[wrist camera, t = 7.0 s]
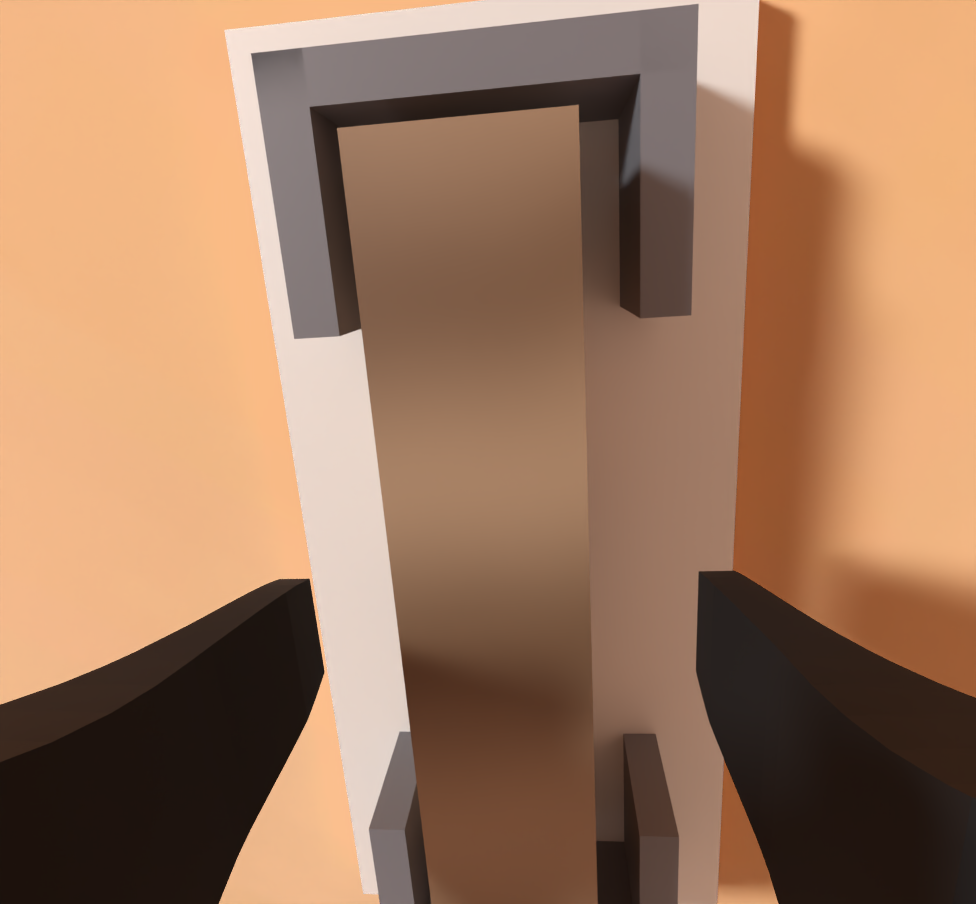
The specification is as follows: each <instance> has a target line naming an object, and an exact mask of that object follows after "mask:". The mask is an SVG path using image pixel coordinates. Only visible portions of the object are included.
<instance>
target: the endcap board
mask: <svg viewBox="0 0 976 904" xmlns="http://www.w3.org/2000/svg"><path fill="white" fill-rule="evenodd" d="M758 18H759V0H481V1H473V2H464V3H455V4H447V5H438V6H429V7H421V8H412V9H403V10H395V11H386V12H377V13H369V14H360V15H351V16H343V17H334V18H325V19H317V20H308V21H299V22H291V23H282V24H273V25H265V26H256V27H247V28H239V29H230V30H225V36H226V42H227V48H228V55H229V61H230V67H231V73H232V79H233V86H234V92H235V98H236V104H237V111H238V117H239V123H240V129H241V135H242V142H243V148H244V154H245V160H246V167H247V173H248V179H249V185H250V192H251V198H252V204H253V210H254V216H255V223H256V229H257V235H258V241H259V248H260V254H261V260H262V266H263V272H264V279H265V285H266V291H267V297H268V304H269V310H270V316H271V322H272V328H273V335H274V341H275V347H276V353H277V360H278V366H279V372H280V378H281V384H282V391H283V397H284V403H285V409H286V416H287V422H288V428H289V434H290V440H291V447H292V453H293V459H294V465H295V472H296V478H297V484H298V490H299V496H300V503H301V509H302V515H303V521H304V528H305V534H306V540H307V546H308V552H309V559H310V565H311V571H312V577H313V584H314V590H315V596H316V602H317V608H318V615H319V621H320V627H321V633H322V640H323V646H324V652H325V658H326V665H327V671H328V677H329V683H330V689H331V696H332V702H333V708H334V714H335V721H336V727H337V733H338V739H339V745H340V752H341V758H342V764H343V770H344V777H345V783H346V789H347V795H348V801H349V808H350V814H351V820H352V826H353V833H354V839H355V845H356V851H357V857H358V864H359V870H360V876H361V882H362V889H363V894H379V900H380V904H431V897H430V889H429V880H428V872H427V864H426V856H425V847H424V839H423V831H422V823H421V815H420V806H419V798H418V790H417V782H416V774H415V765H414V757H413V749H412V741H411V732H410V724H409V716H408V708H407V700H406V691H405V683H404V675H403V667H402V658H401V650H400V642H399V634H398V626H397V617H396V609H395V601H394V593H393V584H392V576H391V568H390V560H389V552H388V543H387V535H386V527H385V519H384V511H383V502H382V494H381V486H380V478H379V469H378V461H377V453H376V445H375V437H374V428H373V420H372V412H371V404H370V395H369V387H368V379H367V371H366V363H365V354H364V346H363V338H362V330H361V322H360V313H359V305H358V297H357V289H356V280H355V272H354V264H353V256H352V248H351V239H350V231H349V223H348V215H347V206H346V198H345V190H344V182H343V174H342V165H341V157H340V149H339V141H338V133H337V128H343V127H353V126H364V125H374V124H384V123H395V122H405V121H416V120H426V119H436V118H447V117H457V116H468V115H478V114H489V113H499V112H509V111H520V110H530V109H541V108H551V107H561V106H572V105H579V142H580V184H581V226H582V268H583V309H584V351H585V393H586V435H587V477H588V519H589V561H590V603H591V645H592V687H593V729H594V771H595V813H596V855H597V897H598V904H717V898H718V877H719V855H720V834H721V812H722V791H723V769H724V758H723V755H722V753H721V750H720V748H719V745H718V743H717V740H716V738H715V735H714V733H713V730H712V728H711V725H710V723H709V720H708V716H707V712H706V709H705V705H704V701H703V698H702V694H701V690H700V686H699V682H698V678H697V674H696V644H697V610H698V575H699V571H733V555H734V533H735V512H736V490H737V469H738V447H739V426H740V405H741V383H742V362H743V340H744V319H745V297H746V276H747V254H748V233H749V211H750V190H751V168H752V147H753V125H754V104H755V83H756V61H757V40H758Z"/></svg>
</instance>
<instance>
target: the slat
mask: <svg viewBox="0 0 976 904" xmlns="http://www.w3.org/2000/svg"><path fill="white" fill-rule="evenodd" d="M337 133H338V141H339V149H340V157H341V165H342V174H343V182H344V190H345V198H346V206H347V215H348V223H349V231H350V239H351V248H352V256H353V264H354V272H355V280H356V289H357V297H358V305H359V313H360V322H361V330H362V338H363V346H364V354H365V363H366V371H367V379H368V387H369V395H370V404H371V412H372V420H373V428H374V437H375V445H376V453H377V461H378V469H379V478H380V486H381V494H382V502H383V511H384V519H385V527H386V535H387V543H388V552H389V560H390V568H391V576H392V584H393V593H394V601H395V609H396V617H397V626H398V634H399V642H400V650H401V658H402V667H403V675H404V683H405V691H406V700H407V708H408V716H409V724H410V732H411V741H412V749H413V757H414V765H415V774H416V782H417V790H418V798H419V806H420V815H421V823H422V831H423V839H424V847H425V856H426V864H427V872H428V880H429V889H430V897H431V904H598V897H597V855H596V813H595V771H594V729H593V687H592V645H591V603H590V561H589V519H588V477H587V435H586V393H585V351H584V309H583V268H582V226H581V184H580V142H579V105H572V106H561V107H551V108H541V109H530V110H520V111H509V112H499V113H489V114H478V115H468V116H457V117H447V118H436V119H426V120H416V121H405V122H395V123H384V124H374V125H364V126H353V127H343V128H337Z"/></svg>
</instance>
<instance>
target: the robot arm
mask: <svg viewBox="0 0 976 904" xmlns="http://www.w3.org/2000/svg"><path fill="white" fill-rule="evenodd" d="M696 674H697V678H698V682H699V686H700V690H701V694H702V698H703V701H704V705H705V709H706V712H707V716H708V720H709V723H710V725H711V728H712V730H713V733H714V735H715V738H716V740H717V743H718V745H719V748H720V750H721V753H722V755H723V758H724V760H725V763H726V765H727V767H728V770H729V772H730V775H731V777H732V780H733V782H734V784H735V787H736V789H737V792H738V794H739V797H740V799H741V801H742V804H743V806H744V809H745V811H746V814H747V816H748V818H749V821H750V823H751V826H752V828H753V831H754V833H755V835H756V838H757V840H758V843H759V846H760V848H761V851H762V854H763V857H764V859H765V862H766V865H767V868H768V870H769V873H770V877H771V880H772V883H773V887H774V890H775V893H776V897H777V900H778V903H779V904H976V698H974V697H972V696H969V695H966V694H964V693H961V692H959V691H956V690H954V689H951V688H949V687H947V686H944V685H942V684H939V683H937V682H935V681H932V680H930V679H928V678H926V677H924V676H921V675H919V674H917V673H915V672H913V671H910V670H908V669H906V668H904V667H902V666H899V665H897V664H895V663H893V662H891V661H889V660H887V659H885V658H883V657H881V656H879V655H877V654H875V653H873V652H871V651H869V650H867V649H865V648H863V647H861V646H860V645H858V644H856V643H854V642H852V641H850V640H849V639H847V638H845V637H843V636H841V635H839V634H838V633H836V632H834V631H832V630H831V629H829V628H827V627H826V626H824V625H822V624H820V623H819V622H817V621H815V620H814V619H812V618H810V617H809V616H807V615H806V614H804V613H802V612H801V611H799V610H797V609H796V608H794V607H793V606H791V605H789V604H788V603H786V602H785V601H783V600H782V599H780V598H778V597H777V596H775V595H774V594H772V593H771V592H769V591H768V590H766V589H764V588H763V587H761V586H760V585H758V584H757V583H755V582H753V581H752V580H750V579H748V578H747V577H745V576H743V575H742V574H740V573H738V572H736V571H699V575H698V610H697V644H696ZM323 675H324V666H323V660H322V654H321V647H320V641H319V635H318V629H317V622H316V616H315V610H314V604H313V598H312V591H311V585H310V579H279V580H276V581H273V582H271V583H268V584H266V585H264V586H262V587H259V588H257V589H255V590H253V591H251V592H249V593H248V594H246V595H244V596H242V597H240V598H238V599H236V600H234V601H232V602H231V603H229V604H227V605H225V606H223V607H221V608H219V609H218V610H216V611H214V612H212V613H210V614H208V615H207V616H205V617H203V618H201V619H199V620H197V621H195V622H194V623H192V624H190V625H188V626H186V627H184V628H182V629H180V630H178V631H176V632H174V633H172V634H170V635H168V636H166V637H164V638H162V639H160V640H158V641H156V642H154V643H152V644H150V645H148V646H146V647H144V648H142V649H140V650H138V651H136V652H134V653H132V654H130V655H128V656H126V657H123V658H121V659H119V660H117V661H114V662H112V663H110V664H108V665H105V666H103V667H101V668H98V669H96V670H93V671H91V672H89V673H86V674H84V675H81V676H79V677H76V678H74V679H72V680H69V681H66V682H64V683H61V684H59V685H56V686H53V687H50V688H47V689H45V690H42V691H39V692H36V693H33V694H30V695H27V696H24V697H21V698H19V699H16V700H13V701H10V702H7V703H4V704H1V705H0V904H219V901H220V899H221V896H222V894H223V891H224V889H225V887H226V884H227V882H228V879H229V877H230V874H231V872H232V869H233V867H234V864H235V862H236V859H237V857H238V855H239V853H240V851H241V848H242V846H243V844H244V842H245V840H246V838H247V836H248V834H249V832H250V830H251V828H252V826H253V824H254V822H255V820H256V818H257V816H258V814H259V812H260V811H261V809H262V807H263V805H264V803H265V801H266V799H267V797H268V795H269V793H270V792H271V790H272V788H273V786H274V784H275V782H276V780H277V778H278V776H279V774H280V773H281V771H282V769H283V767H284V765H285V763H286V761H287V759H288V757H289V755H290V753H291V752H292V750H293V748H294V746H295V744H296V742H297V740H298V738H299V736H300V734H301V732H302V730H303V728H304V726H305V724H306V722H307V720H308V718H309V715H310V712H311V709H312V707H313V704H314V701H315V699H316V696H317V693H318V690H319V687H320V684H321V681H322V678H323Z"/></svg>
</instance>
